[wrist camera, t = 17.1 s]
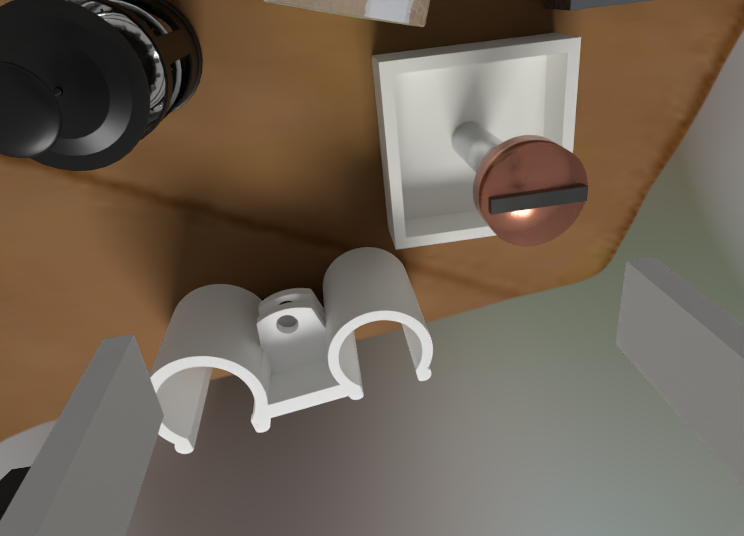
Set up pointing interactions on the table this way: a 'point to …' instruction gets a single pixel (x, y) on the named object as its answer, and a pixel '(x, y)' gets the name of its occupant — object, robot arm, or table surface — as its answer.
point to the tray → (460, 105)
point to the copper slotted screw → (522, 184)
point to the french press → (90, 77)
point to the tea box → (369, 9)
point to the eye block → (584, 3)
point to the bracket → (282, 342)
